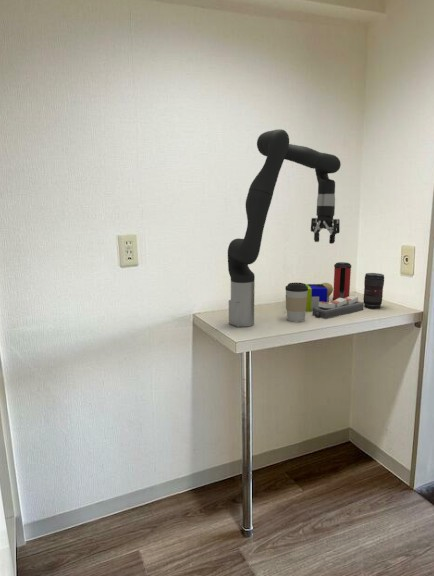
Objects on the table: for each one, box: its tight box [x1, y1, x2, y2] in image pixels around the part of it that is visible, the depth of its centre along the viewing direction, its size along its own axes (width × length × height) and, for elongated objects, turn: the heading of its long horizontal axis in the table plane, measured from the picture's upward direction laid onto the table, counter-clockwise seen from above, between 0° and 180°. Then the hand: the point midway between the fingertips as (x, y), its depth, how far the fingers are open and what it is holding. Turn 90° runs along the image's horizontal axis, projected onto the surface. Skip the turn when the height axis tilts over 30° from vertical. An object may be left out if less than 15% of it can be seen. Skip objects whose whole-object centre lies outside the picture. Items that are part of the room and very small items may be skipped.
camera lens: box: [363, 272, 385, 310], centre depth 187 cm, size 8×8×15 cm
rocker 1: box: [318, 301, 335, 308], centre depth 176 cm, size 6×4×2 cm, turn 124°
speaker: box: [332, 261, 352, 301], centre depth 198 cm, size 8×8×18 cm
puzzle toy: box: [305, 283, 327, 312], centre depth 187 cm, size 10×10×10 cm
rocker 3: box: [344, 295, 359, 305], centre depth 184 cm, size 6×4×2 cm, turn 123°
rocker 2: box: [329, 298, 347, 307], centre depth 180 cm, size 6×4×2 cm, turn 124°
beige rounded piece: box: [321, 282, 334, 303], centre depth 193 cm, size 6×6×10 cm
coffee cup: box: [284, 282, 308, 323], centre depth 170 cm, size 9×9×15 cm
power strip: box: [311, 300, 364, 320], centre depth 180 cm, size 26×7×3 cm, turn 124°
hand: (324, 242), depth 184 cm, fingers open, 8 cm apart
